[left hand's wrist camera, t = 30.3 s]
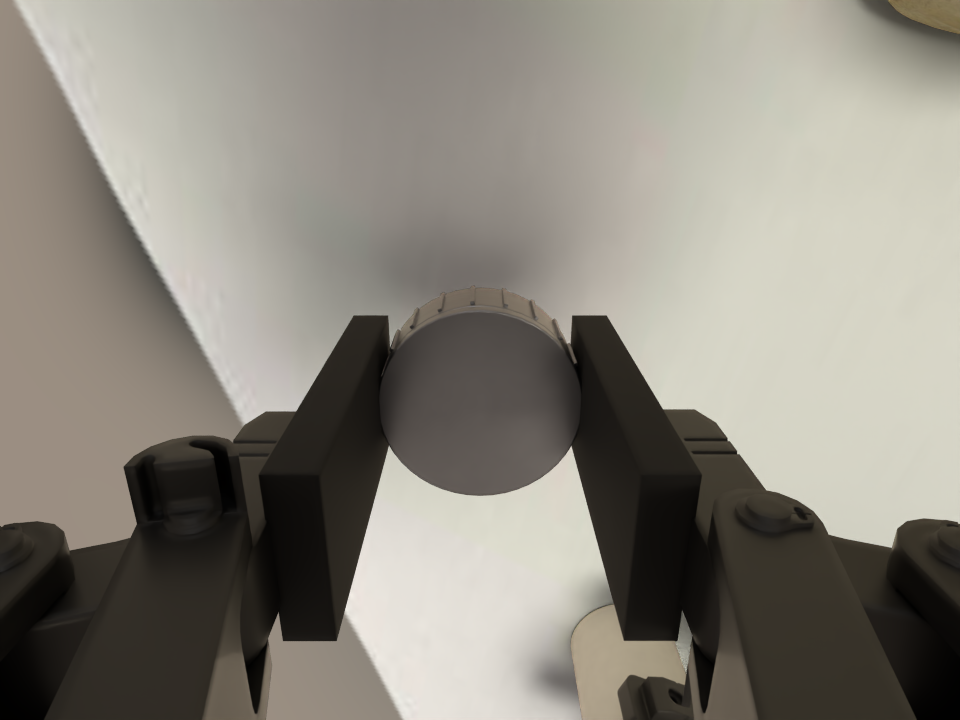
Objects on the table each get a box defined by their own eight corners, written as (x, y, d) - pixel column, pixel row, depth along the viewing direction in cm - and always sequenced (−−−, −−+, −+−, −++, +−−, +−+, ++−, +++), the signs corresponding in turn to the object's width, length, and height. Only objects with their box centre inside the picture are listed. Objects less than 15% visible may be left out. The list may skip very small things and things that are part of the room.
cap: (426, 254, 13) (419, 274, 12) (606, 328, 14) (622, 356, 12) (361, 420, 15) (347, 457, 13) (526, 481, 15) (532, 523, 14)
